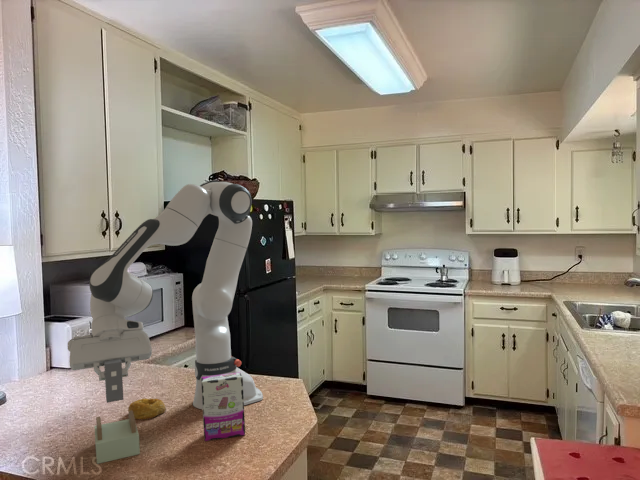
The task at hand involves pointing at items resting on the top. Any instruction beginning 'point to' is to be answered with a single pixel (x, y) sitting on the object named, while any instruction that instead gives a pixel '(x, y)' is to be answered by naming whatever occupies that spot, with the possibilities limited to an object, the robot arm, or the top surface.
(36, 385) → the top surface
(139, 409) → the bagel
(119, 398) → the tall grey pillar
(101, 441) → the bracket shelf
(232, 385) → the candy bar box
